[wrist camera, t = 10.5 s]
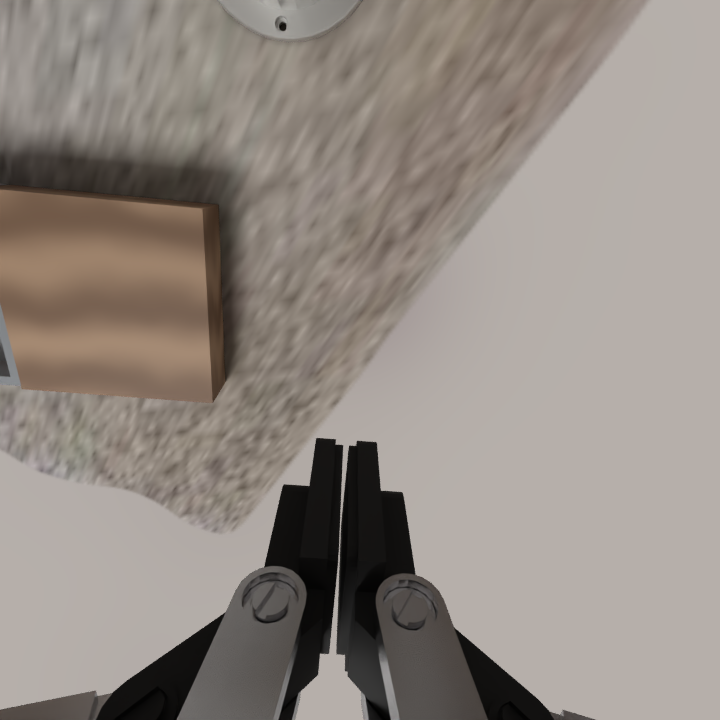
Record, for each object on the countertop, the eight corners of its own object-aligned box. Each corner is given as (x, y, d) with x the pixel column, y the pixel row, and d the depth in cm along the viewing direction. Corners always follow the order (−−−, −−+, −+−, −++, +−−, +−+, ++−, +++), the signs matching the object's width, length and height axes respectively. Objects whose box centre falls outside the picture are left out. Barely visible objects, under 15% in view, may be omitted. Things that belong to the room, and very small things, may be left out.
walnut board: (12, 185, 34) (-30, 186, 30) (218, 204, 34) (202, 208, 31) (52, 369, 40) (21, 388, 36) (225, 382, 41) (212, 403, 37)
